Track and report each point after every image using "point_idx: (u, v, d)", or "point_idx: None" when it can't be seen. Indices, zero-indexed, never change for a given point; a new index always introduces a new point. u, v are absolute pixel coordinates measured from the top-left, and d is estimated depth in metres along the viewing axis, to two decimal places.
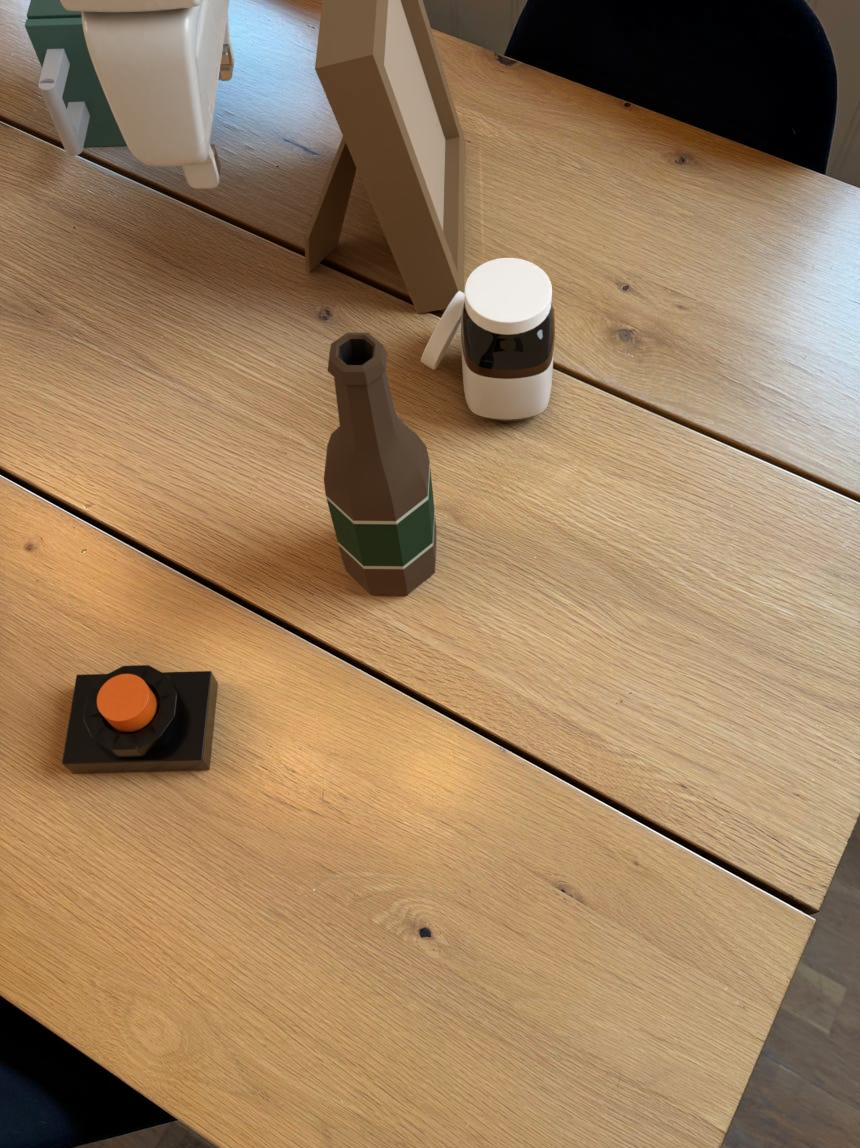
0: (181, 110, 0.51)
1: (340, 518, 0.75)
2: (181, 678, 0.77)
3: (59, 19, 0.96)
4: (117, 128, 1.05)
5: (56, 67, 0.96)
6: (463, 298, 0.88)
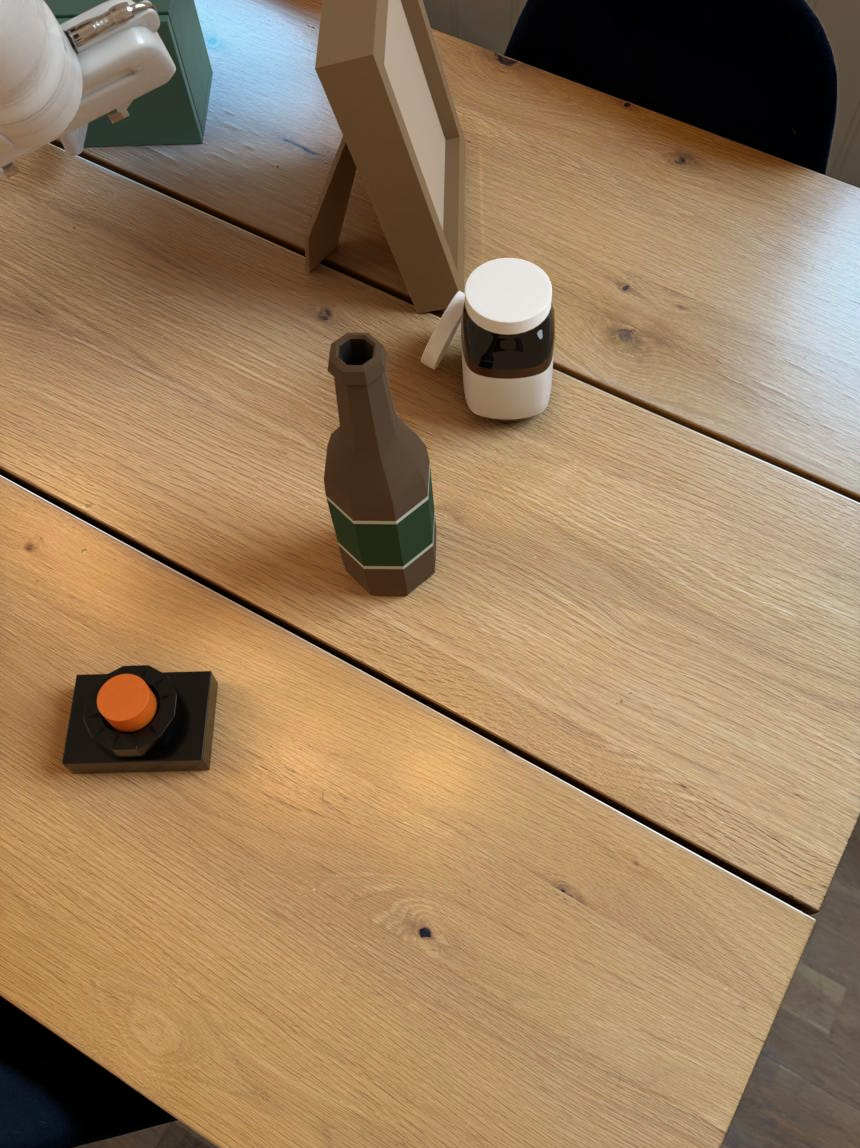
0: None
1: (340, 518, 0.75)
2: (181, 678, 0.77)
3: (59, 19, 0.96)
4: (117, 128, 1.05)
5: None
6: (463, 298, 0.88)
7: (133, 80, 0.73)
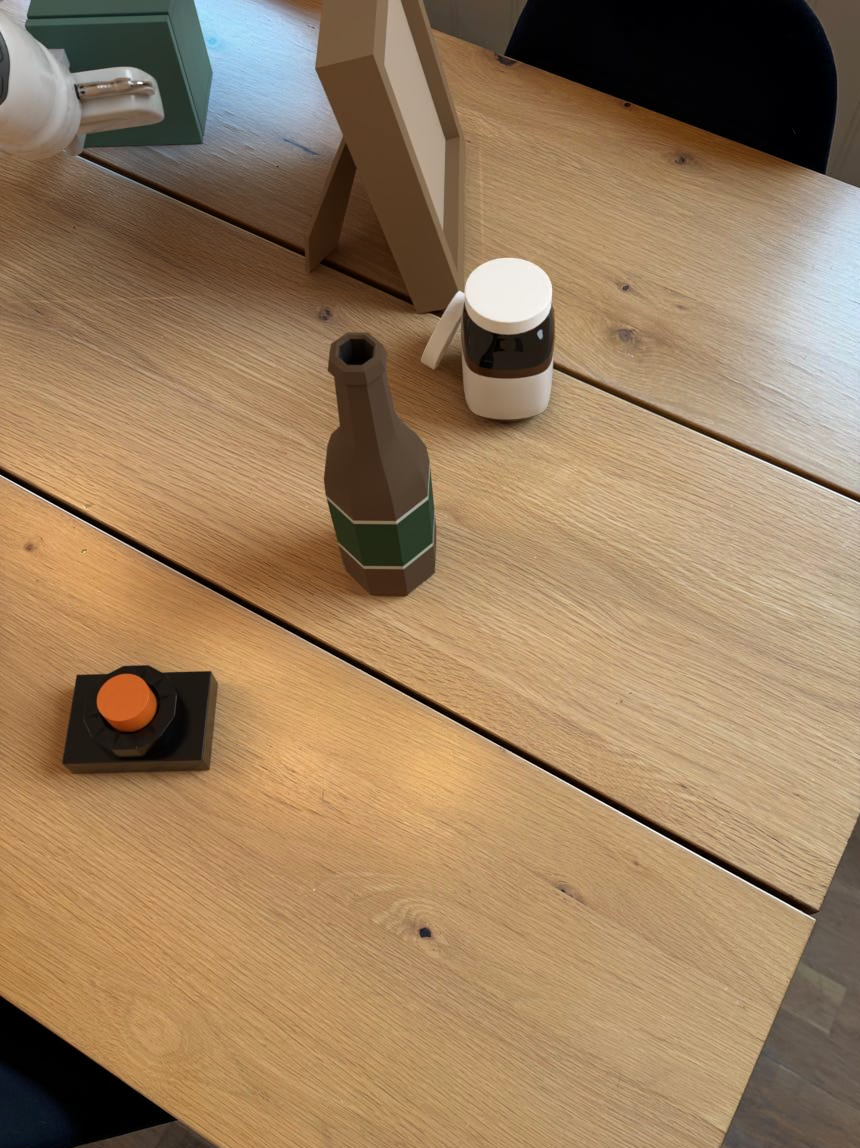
0: None
1: (340, 518, 0.75)
2: (181, 678, 0.77)
3: (59, 19, 0.96)
4: None
5: None
6: (463, 298, 0.88)
7: (125, 121, 0.92)
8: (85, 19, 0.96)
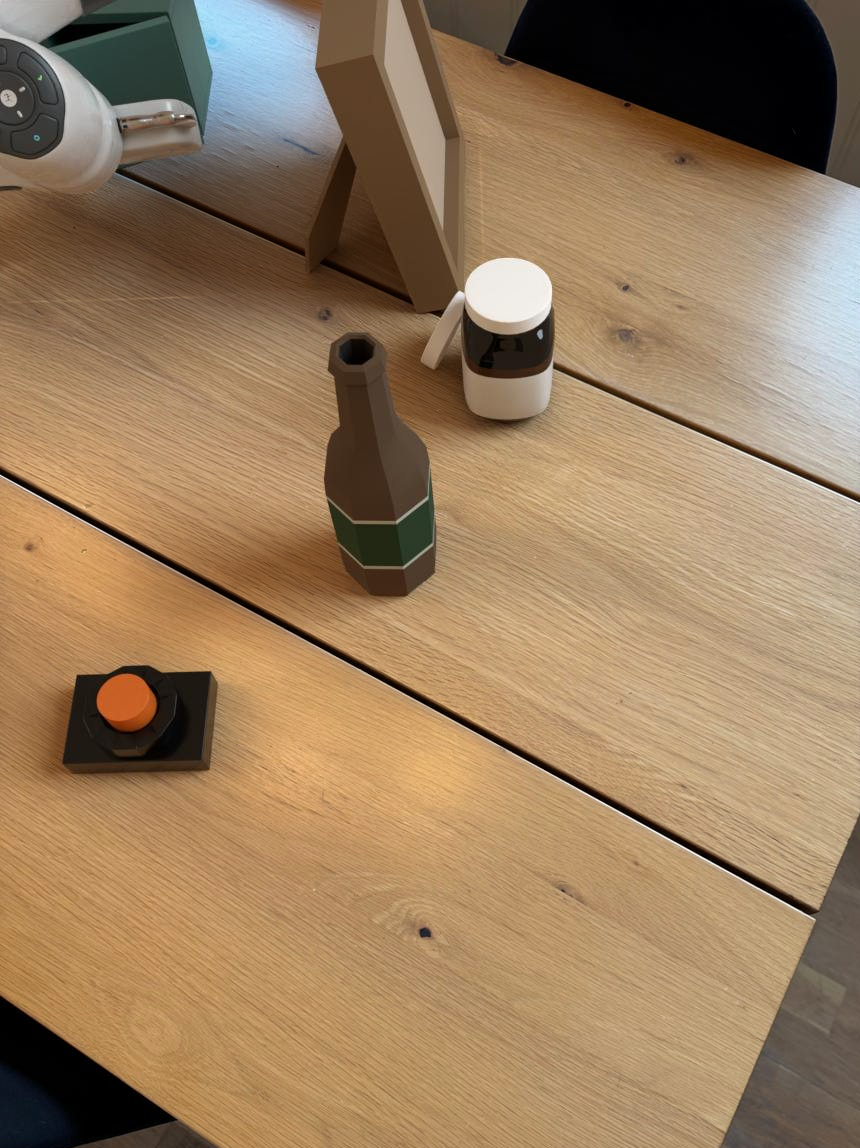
0: None
1: (340, 518, 0.75)
2: (181, 678, 0.77)
3: (60, 46, 0.94)
4: None
5: None
6: (463, 298, 0.88)
7: (164, 153, 0.91)
8: (86, 39, 0.94)
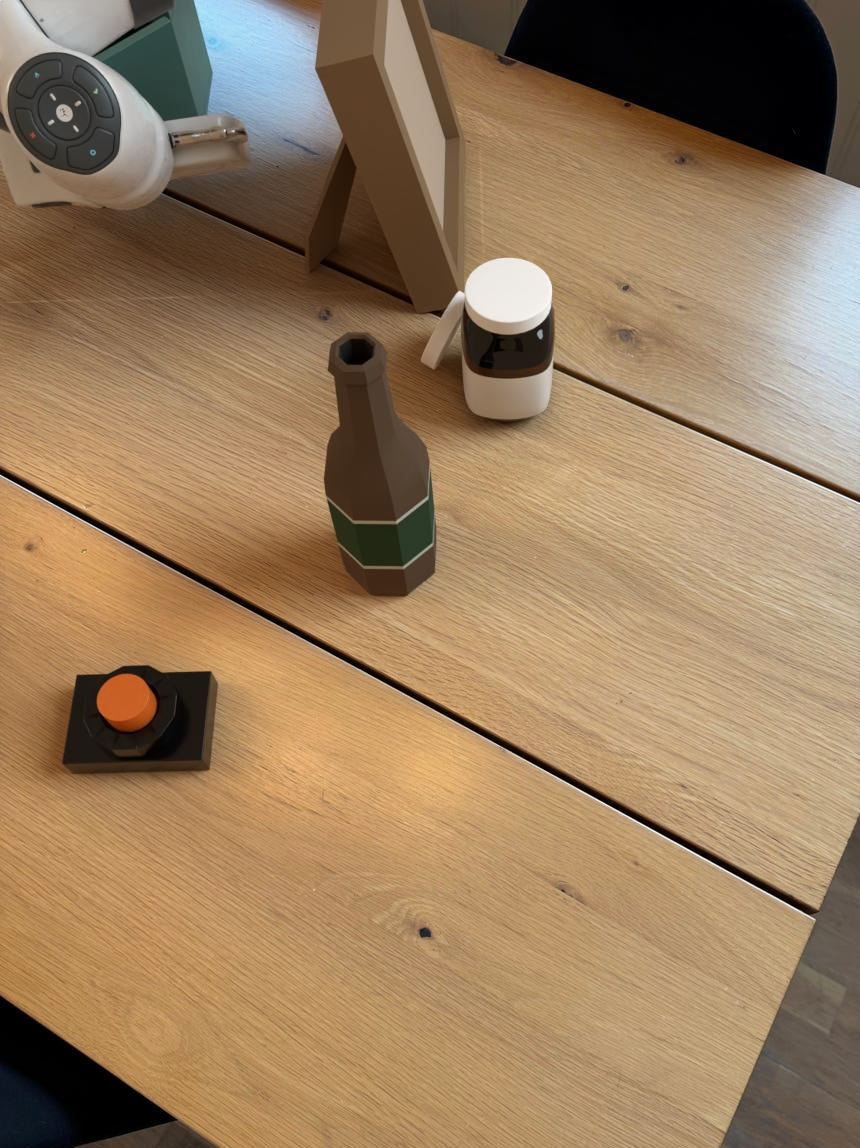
0: None
1: (340, 518, 0.75)
2: (181, 678, 0.77)
3: None
4: None
5: None
6: (463, 298, 0.88)
7: (214, 168, 0.89)
8: (99, 56, 0.93)
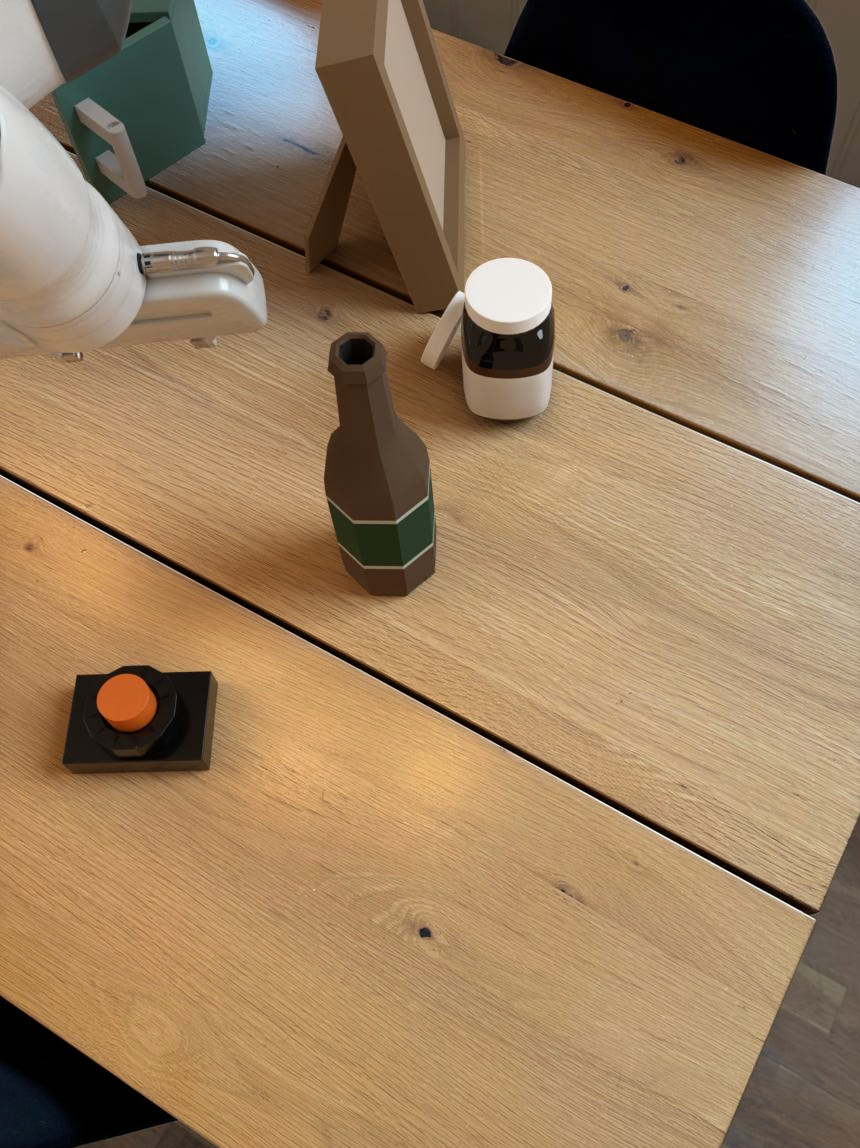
0: None
1: (340, 518, 0.75)
2: (181, 678, 0.77)
3: None
4: None
5: (103, 112, 0.93)
6: (463, 298, 0.88)
7: (210, 320, 0.66)
8: None
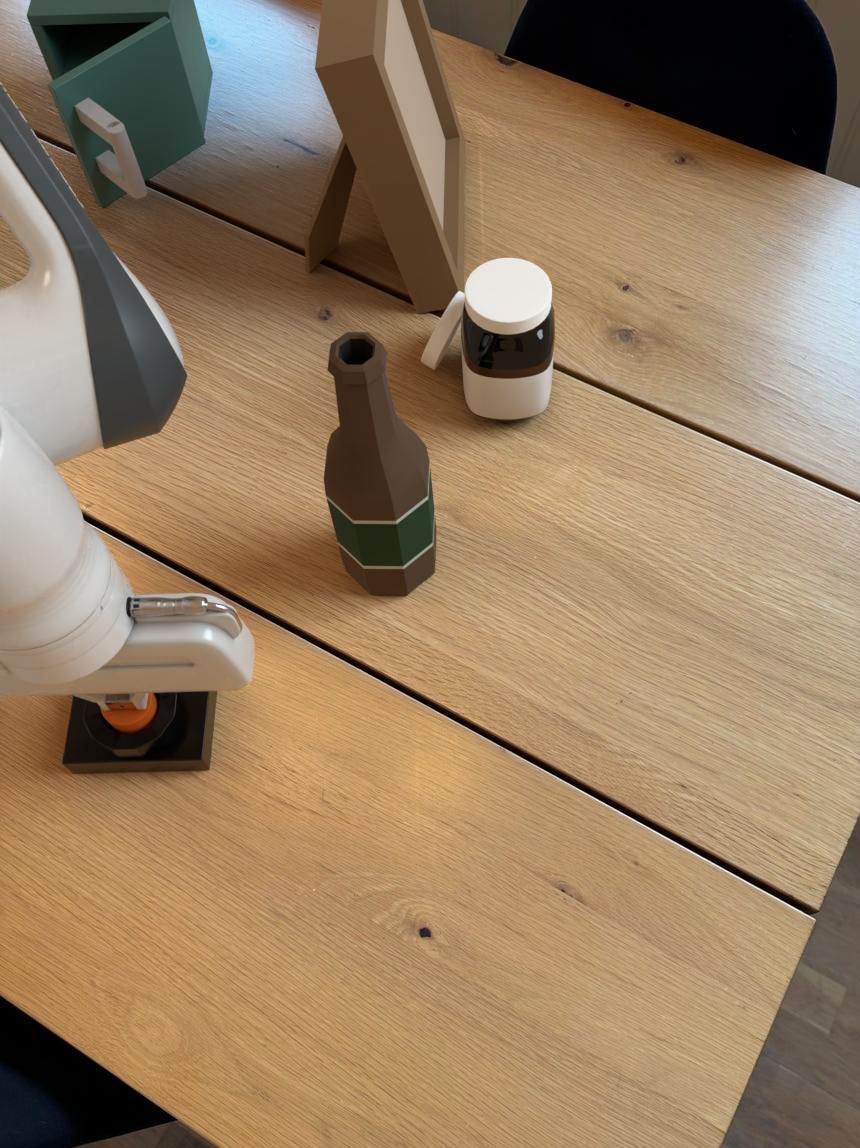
0: None
1: (340, 518, 0.75)
2: None
3: (76, 68, 0.93)
4: None
5: (103, 112, 0.93)
6: (463, 298, 0.88)
7: (193, 671, 0.65)
8: (99, 56, 0.93)
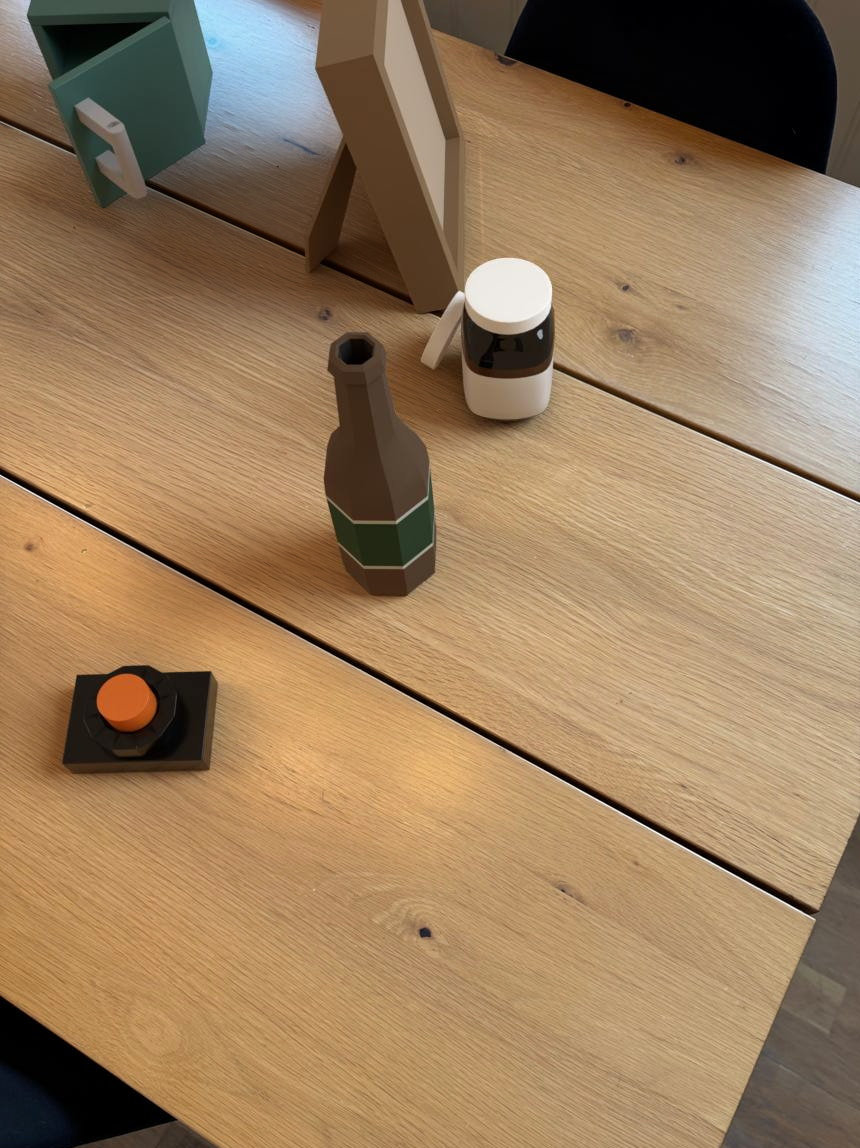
0: None
1: (340, 518, 0.75)
2: (181, 678, 0.77)
3: (76, 68, 0.93)
4: None
5: (103, 112, 0.93)
6: (463, 298, 0.88)
7: None
8: (99, 56, 0.93)
